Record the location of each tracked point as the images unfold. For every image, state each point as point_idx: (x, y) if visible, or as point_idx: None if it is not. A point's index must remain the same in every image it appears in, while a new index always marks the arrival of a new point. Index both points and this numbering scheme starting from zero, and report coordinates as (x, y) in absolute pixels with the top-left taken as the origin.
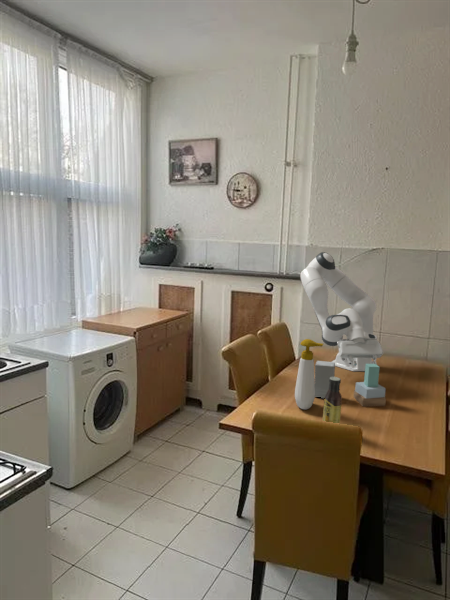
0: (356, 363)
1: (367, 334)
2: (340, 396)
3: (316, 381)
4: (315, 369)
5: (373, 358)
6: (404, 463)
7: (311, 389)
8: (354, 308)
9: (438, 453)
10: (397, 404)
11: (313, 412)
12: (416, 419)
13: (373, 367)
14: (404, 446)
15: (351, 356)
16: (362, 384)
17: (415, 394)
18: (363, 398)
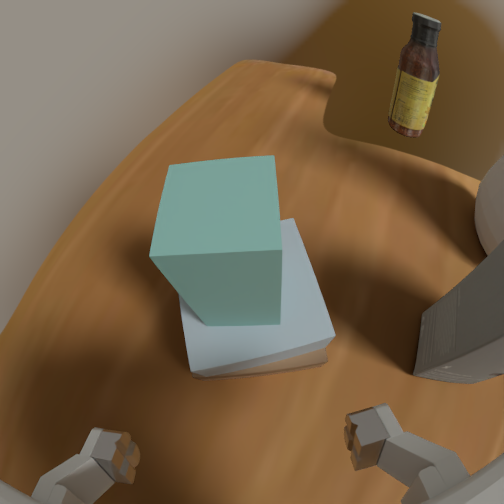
0: (354, 417)
1: None
2: (403, 47)
3: None
4: None
5: (83, 502)
6: (282, 64)
7: (500, 159)
8: None
9: (210, 83)
10: (138, 298)
11: (459, 200)
12: (152, 184)
13: (230, 162)
14: (260, 87)
15: (439, 475)
16: (298, 297)
17: (33, 396)
18: (304, 245)
